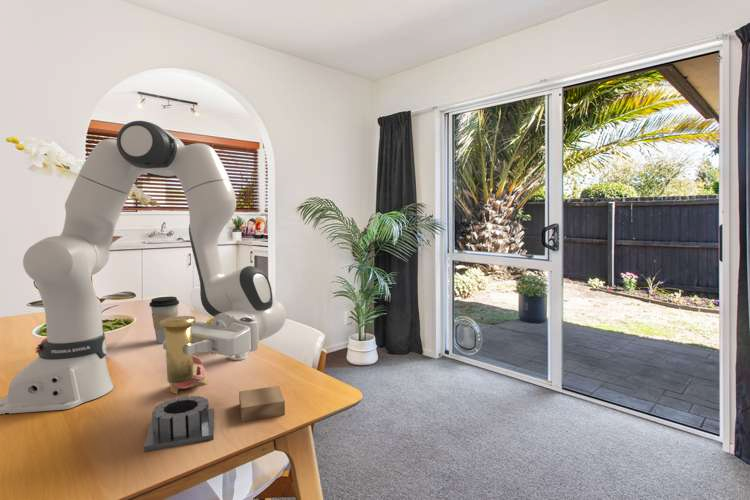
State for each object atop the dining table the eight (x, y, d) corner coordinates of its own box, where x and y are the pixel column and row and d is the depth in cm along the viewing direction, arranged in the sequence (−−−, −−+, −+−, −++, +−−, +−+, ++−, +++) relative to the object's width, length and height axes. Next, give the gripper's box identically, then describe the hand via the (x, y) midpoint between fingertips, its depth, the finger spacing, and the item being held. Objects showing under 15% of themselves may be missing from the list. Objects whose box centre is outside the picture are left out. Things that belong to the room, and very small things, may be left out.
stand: (241, 421, 89) (241, 407, 89) (239, 404, 97) (239, 391, 97) (284, 414, 92) (284, 401, 92) (279, 398, 100) (278, 385, 100)
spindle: (157, 385, 81) (153, 324, 80) (171, 373, 87) (168, 316, 87) (190, 384, 81) (187, 323, 80) (202, 372, 88) (200, 315, 87)
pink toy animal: (156, 395, 104) (166, 359, 110) (194, 404, 109) (202, 369, 115) (172, 382, 99) (182, 346, 105) (212, 393, 104) (219, 357, 111)
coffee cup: (172, 344, 143) (170, 301, 142) (145, 344, 143) (143, 301, 142) (185, 336, 153) (183, 296, 151) (159, 336, 153) (157, 296, 152)
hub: (143, 451, 78) (142, 425, 77) (153, 422, 89) (151, 399, 88) (213, 439, 82) (212, 414, 81) (214, 412, 93) (213, 390, 93)
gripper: (197, 312, 100) (141, 326, 88) (262, 322, 90) (210, 338, 78) (198, 338, 100) (143, 356, 88) (263, 350, 91) (211, 372, 79)
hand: (175, 348), depth 83 cm, fingers closed on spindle, 5 cm apart
